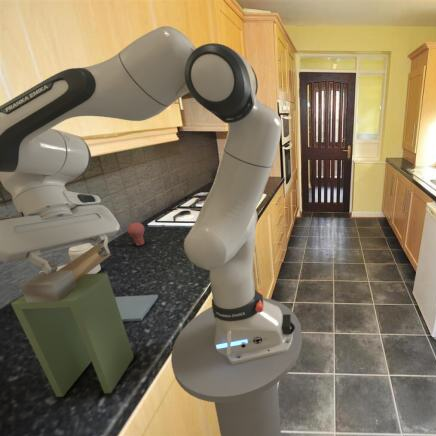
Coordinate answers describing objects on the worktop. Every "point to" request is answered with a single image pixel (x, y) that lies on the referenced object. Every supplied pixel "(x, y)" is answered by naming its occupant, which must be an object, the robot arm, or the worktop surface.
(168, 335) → the worktop surface
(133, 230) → the light bulb
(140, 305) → the mat
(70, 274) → the mallet
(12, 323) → the worktop surface
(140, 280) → the worktop surface
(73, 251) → the beverage can
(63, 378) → the green arch block
